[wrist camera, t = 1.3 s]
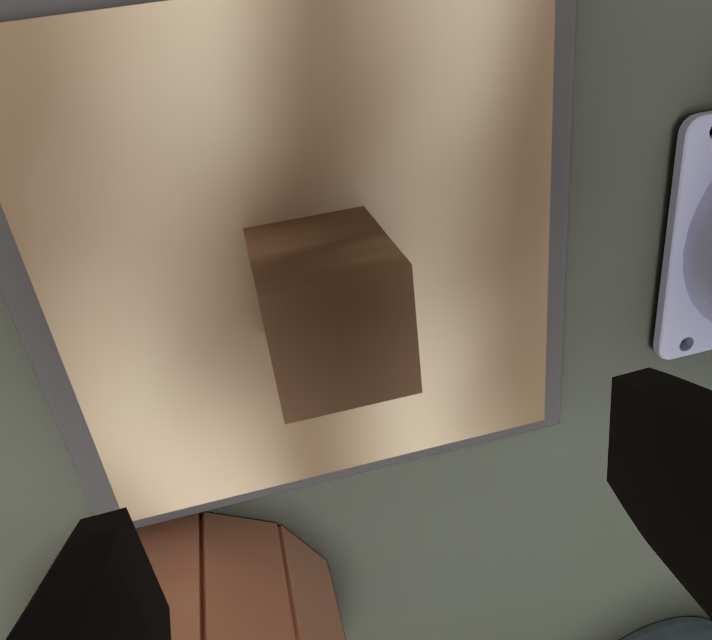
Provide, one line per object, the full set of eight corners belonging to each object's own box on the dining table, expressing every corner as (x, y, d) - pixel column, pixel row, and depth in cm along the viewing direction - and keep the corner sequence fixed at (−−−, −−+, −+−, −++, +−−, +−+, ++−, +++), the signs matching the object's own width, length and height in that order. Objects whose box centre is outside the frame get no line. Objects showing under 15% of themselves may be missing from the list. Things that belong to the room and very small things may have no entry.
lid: (539, -49, 15) (674, -67, 11) (532, 406, 21) (617, 507, 17) (-53, 29, 13) (-170, 44, 9) (128, 503, 19) (109, 645, 15)
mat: (567, -101, 15) (581, -105, 15) (551, 413, 22) (559, 423, 22) (-117, -19, 13) (-130, -20, 12) (106, 522, 20) (103, 536, 19)
